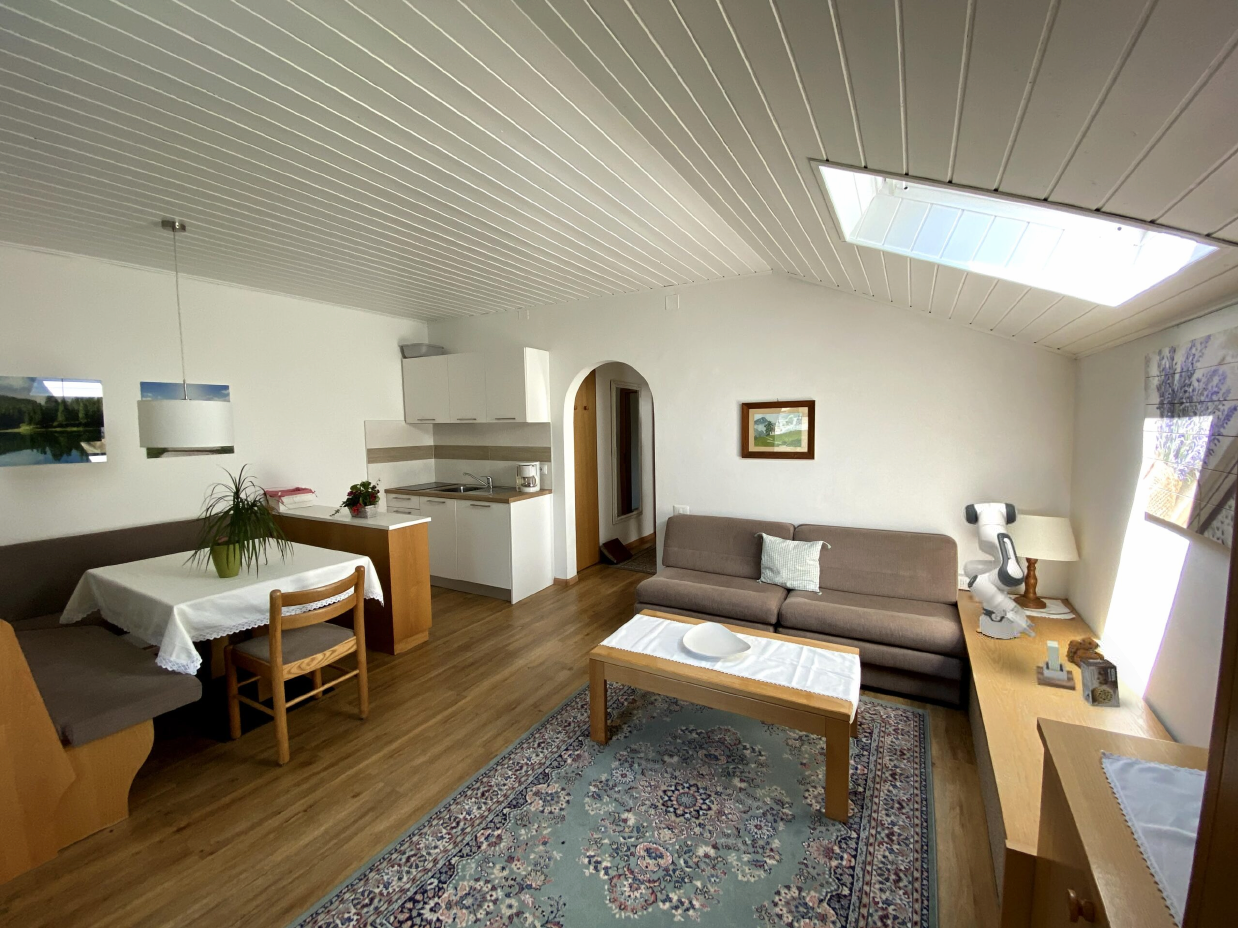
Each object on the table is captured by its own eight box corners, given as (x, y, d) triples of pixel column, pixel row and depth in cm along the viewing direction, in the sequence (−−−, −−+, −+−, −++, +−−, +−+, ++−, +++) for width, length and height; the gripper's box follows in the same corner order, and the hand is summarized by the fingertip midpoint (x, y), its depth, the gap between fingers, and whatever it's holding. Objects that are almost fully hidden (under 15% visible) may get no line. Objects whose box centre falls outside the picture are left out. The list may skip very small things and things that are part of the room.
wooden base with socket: (1036, 668, 233) (1035, 656, 233) (1072, 673, 226) (1071, 661, 225) (1037, 684, 220) (1037, 671, 220) (1075, 690, 213) (1074, 677, 213)
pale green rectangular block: (1049, 671, 227) (1046, 640, 226) (1059, 673, 225) (1057, 641, 224) (1049, 677, 222) (1047, 645, 221) (1060, 679, 220) (1058, 647, 219)
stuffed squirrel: (1092, 673, 225) (1090, 643, 224) (1058, 660, 238) (1056, 632, 238) (1110, 669, 227) (1108, 639, 226) (1075, 656, 240) (1073, 628, 240)
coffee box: (1109, 698, 205) (1107, 658, 204) (1120, 707, 199) (1117, 665, 198) (1081, 697, 208) (1079, 658, 207) (1091, 706, 201) (1088, 665, 201)
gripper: (1009, 610, 222) (1040, 635, 216) (1010, 595, 238) (1038, 618, 233) (997, 619, 225) (1027, 644, 219) (998, 603, 241) (1026, 627, 235)
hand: (1033, 631), depth 226 cm, fingers open, 8 cm apart
